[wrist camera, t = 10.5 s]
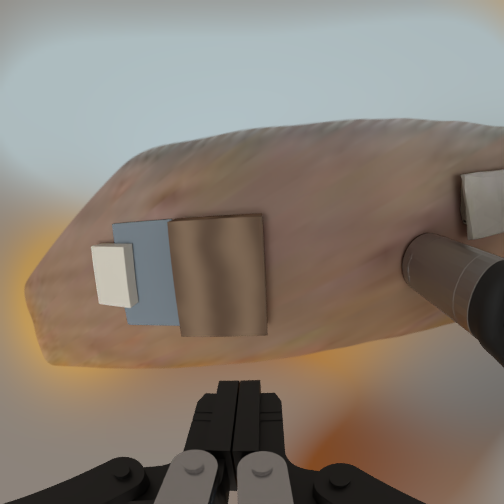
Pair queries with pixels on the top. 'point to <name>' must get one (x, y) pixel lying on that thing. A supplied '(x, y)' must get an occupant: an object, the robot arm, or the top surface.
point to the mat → (150, 272)
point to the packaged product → (483, 203)
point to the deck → (219, 275)
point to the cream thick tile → (115, 274)
